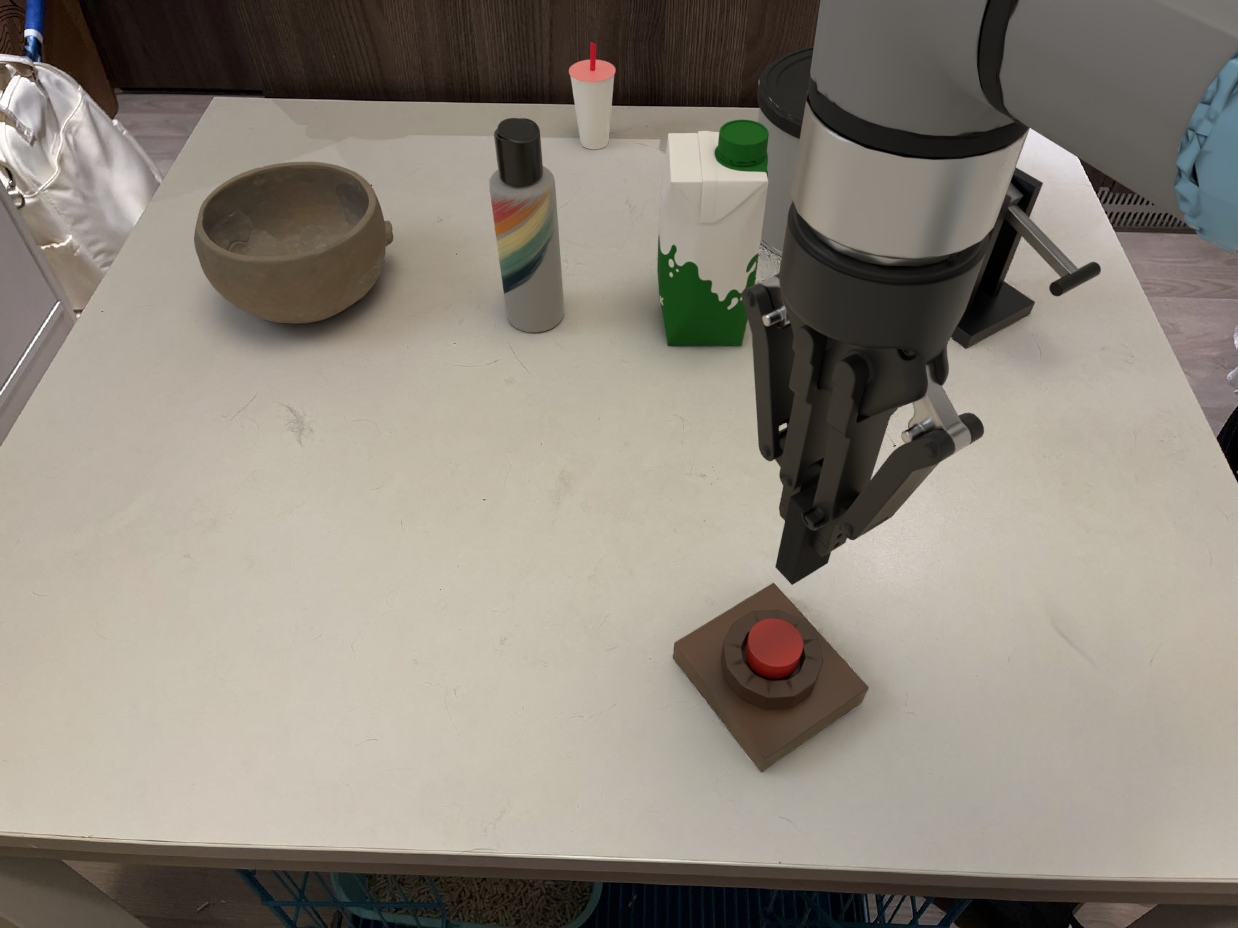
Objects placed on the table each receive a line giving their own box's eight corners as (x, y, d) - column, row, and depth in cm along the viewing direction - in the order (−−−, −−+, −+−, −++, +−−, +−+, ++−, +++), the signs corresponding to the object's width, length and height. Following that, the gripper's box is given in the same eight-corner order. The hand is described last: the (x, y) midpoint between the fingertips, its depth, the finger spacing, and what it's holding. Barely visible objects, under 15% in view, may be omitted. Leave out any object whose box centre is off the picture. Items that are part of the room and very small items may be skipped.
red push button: (810, 661, 60) (814, 648, 58) (768, 689, 58) (771, 676, 57) (775, 622, 61) (779, 608, 60) (734, 647, 60) (737, 635, 59)
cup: (616, 130, 110) (615, 32, 101) (616, 153, 107) (615, 54, 98) (572, 130, 110) (567, 32, 101) (572, 154, 107) (566, 54, 98)
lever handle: (1091, 283, 78) (1108, 265, 76) (1053, 303, 76) (1069, 286, 74) (999, 188, 82) (1013, 168, 80) (961, 205, 80) (974, 186, 78)
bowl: (412, 239, 96) (394, 154, 89) (379, 351, 85) (354, 265, 77) (255, 237, 97) (222, 153, 89) (200, 348, 85) (158, 263, 78)
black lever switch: (1030, 314, 88) (1085, 190, 77) (966, 348, 84) (1014, 225, 74) (953, 261, 93) (995, 140, 82) (890, 292, 90) (925, 170, 79)
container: (869, 295, 90) (905, 159, 78) (711, 230, 97) (722, 97, 85) (945, 207, 99) (986, 75, 88) (796, 154, 107) (816, 26, 95)
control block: (862, 701, 61) (875, 674, 58) (761, 772, 58) (768, 748, 55) (770, 597, 67) (776, 568, 64) (672, 657, 64) (674, 629, 61)
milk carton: (752, 352, 84) (779, 161, 69) (656, 352, 84) (662, 161, 69) (744, 293, 90) (768, 104, 75) (654, 293, 90) (660, 105, 75)
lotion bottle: (526, 290, 91) (505, 102, 75) (575, 306, 89) (563, 117, 74) (496, 323, 87) (467, 133, 72) (545, 341, 86) (527, 150, 70)
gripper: (1101, 263, 31) (931, 615, 49) (845, 111, 38) (778, 466, 56) (950, 344, 29) (829, 684, 46) (705, 164, 36) (682, 519, 54)
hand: (801, 564), depth 51 cm, fingers closed
